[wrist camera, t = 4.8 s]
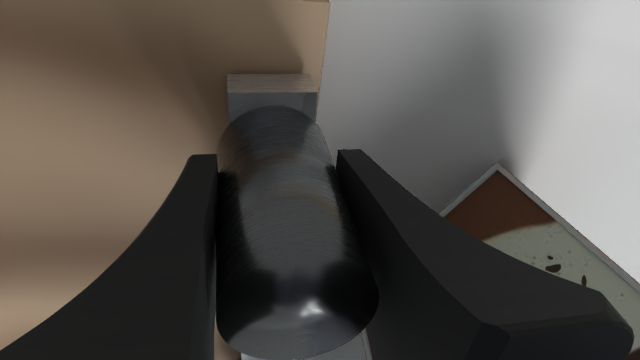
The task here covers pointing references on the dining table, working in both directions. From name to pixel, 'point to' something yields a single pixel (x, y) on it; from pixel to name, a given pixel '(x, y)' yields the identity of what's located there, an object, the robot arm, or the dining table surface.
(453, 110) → the dining table surface
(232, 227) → the lever
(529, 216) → the food container
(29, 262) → the walnut board
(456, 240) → the robot arm
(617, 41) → the dining table surface
